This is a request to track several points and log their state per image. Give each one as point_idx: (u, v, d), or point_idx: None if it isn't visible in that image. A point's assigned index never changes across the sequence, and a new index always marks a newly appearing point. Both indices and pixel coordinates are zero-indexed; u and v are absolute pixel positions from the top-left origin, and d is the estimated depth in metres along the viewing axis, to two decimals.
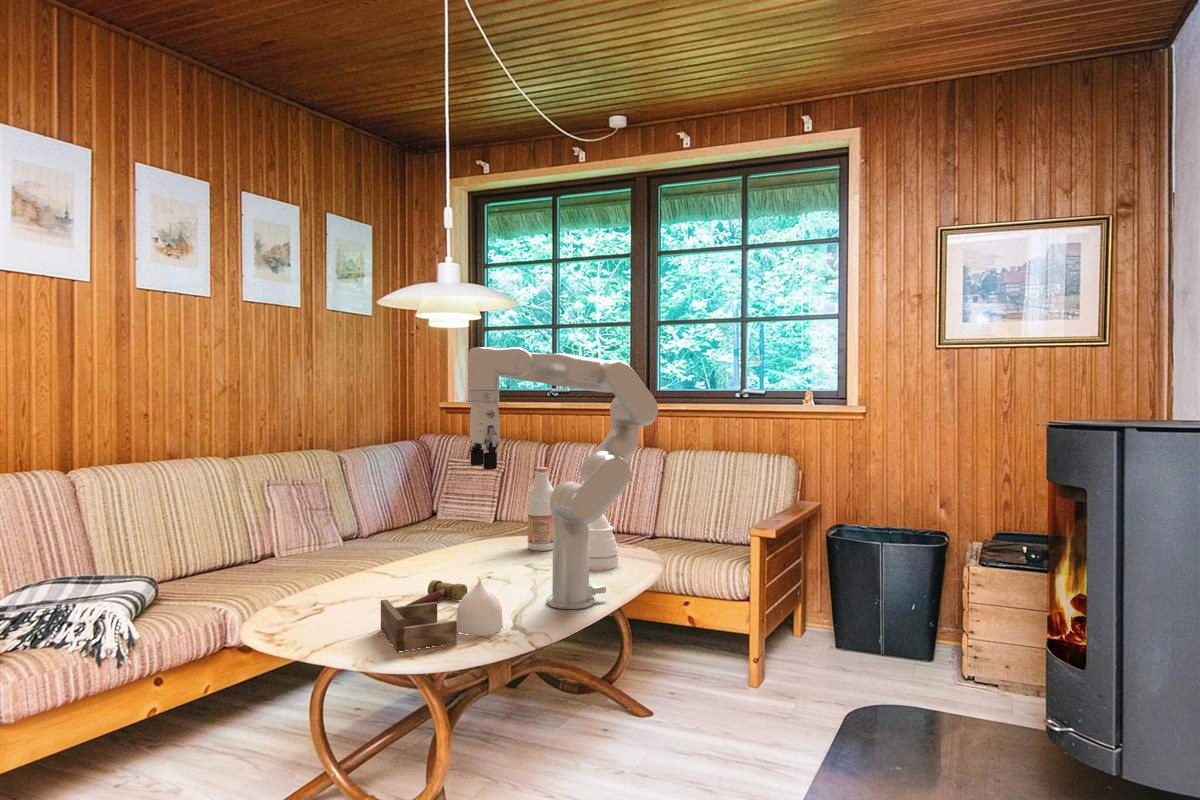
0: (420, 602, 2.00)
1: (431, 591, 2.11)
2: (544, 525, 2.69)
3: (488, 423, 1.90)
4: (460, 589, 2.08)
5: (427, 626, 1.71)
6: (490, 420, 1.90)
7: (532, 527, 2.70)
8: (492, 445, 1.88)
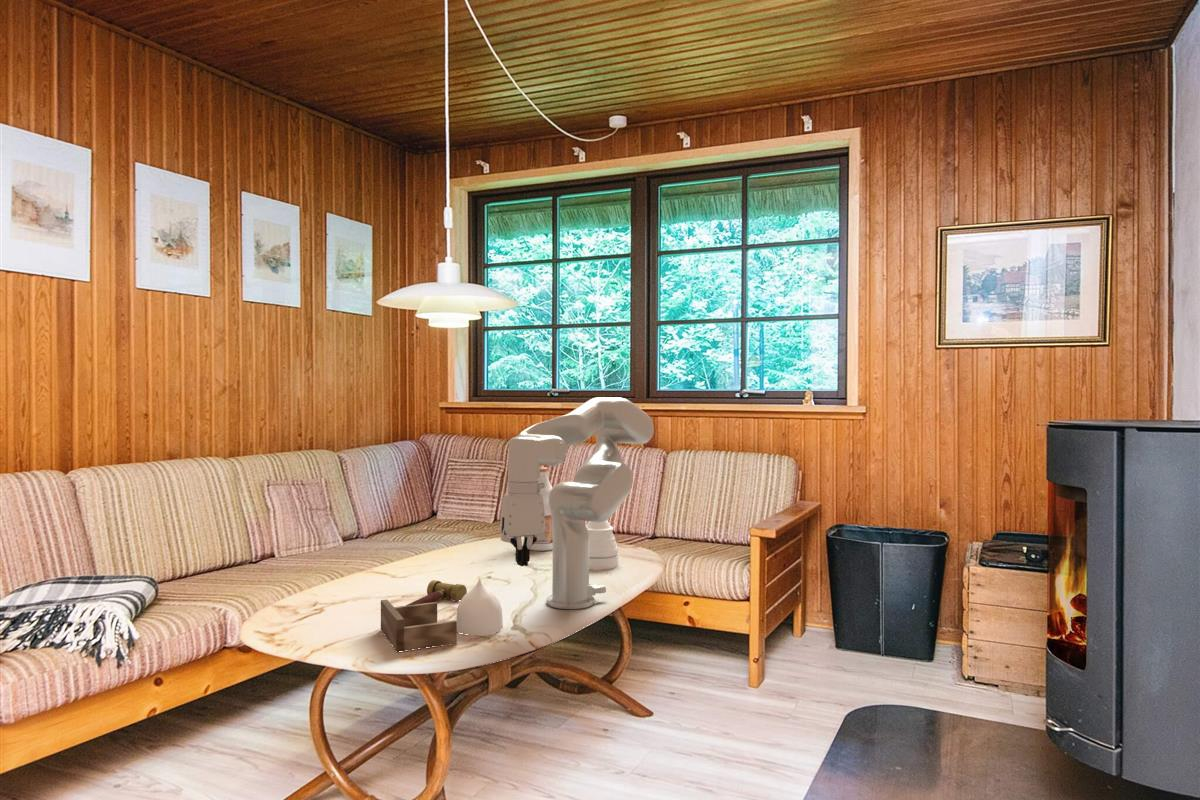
0: (419, 602, 1.99)
1: (430, 591, 2.10)
2: None
3: None
4: (459, 589, 2.08)
5: (427, 626, 1.71)
6: None
7: None
8: None
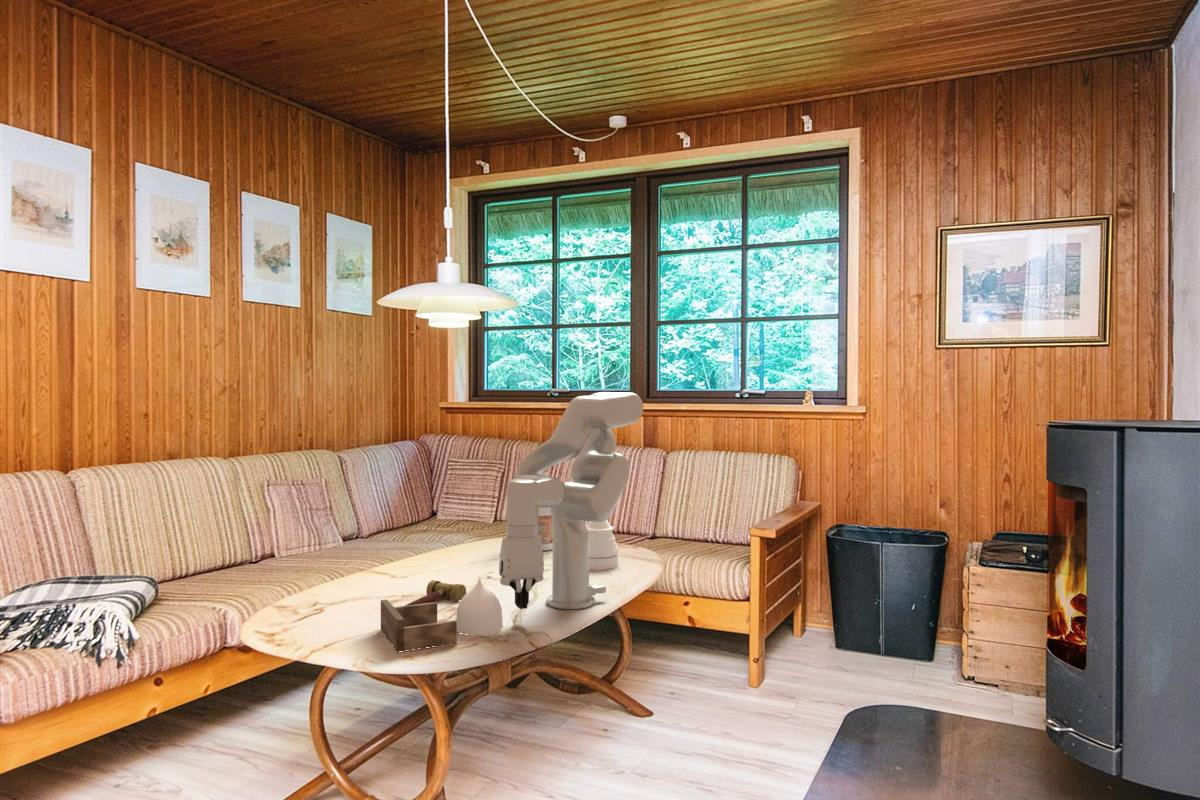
0: (418, 602, 1.99)
1: (430, 591, 2.10)
2: (544, 525, 2.69)
3: None
4: (459, 589, 2.07)
5: (427, 626, 1.71)
6: None
7: None
8: None
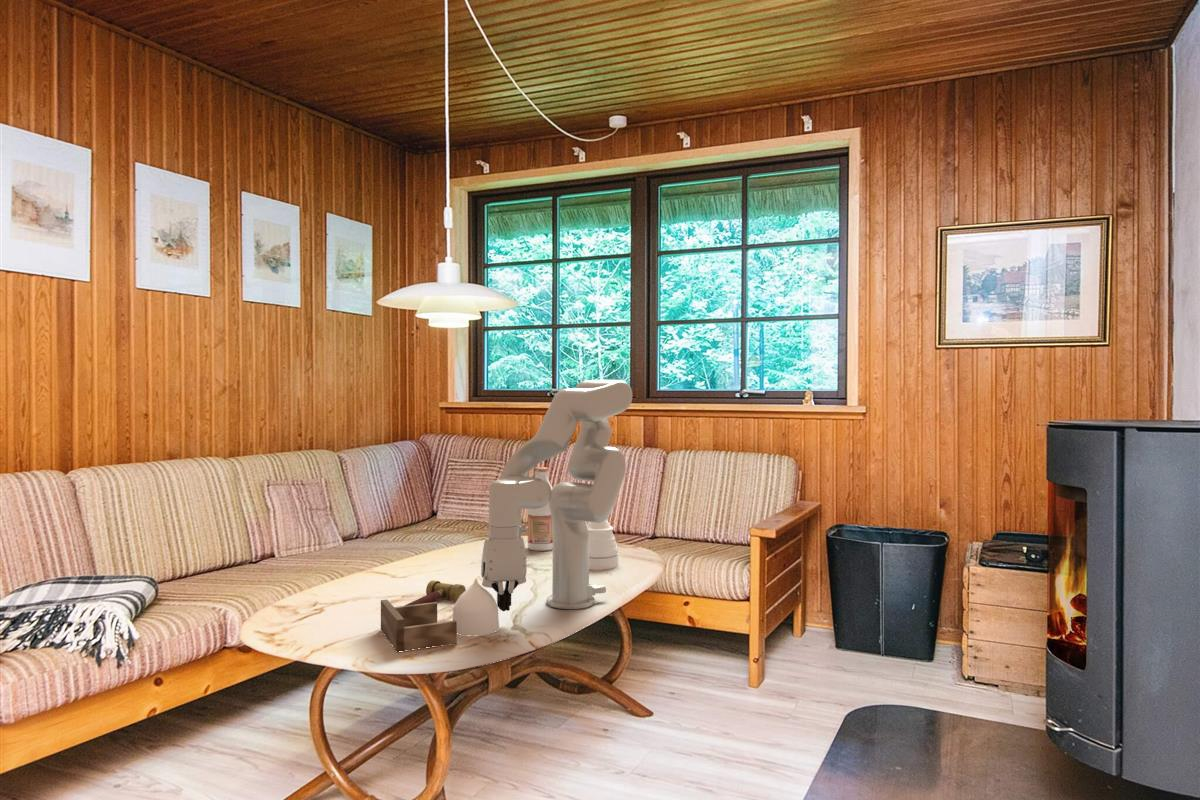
0: (418, 603, 1.99)
1: (429, 591, 2.10)
2: (544, 525, 2.69)
3: None
4: (458, 589, 2.07)
5: (427, 626, 1.71)
6: None
7: (532, 527, 2.70)
8: None
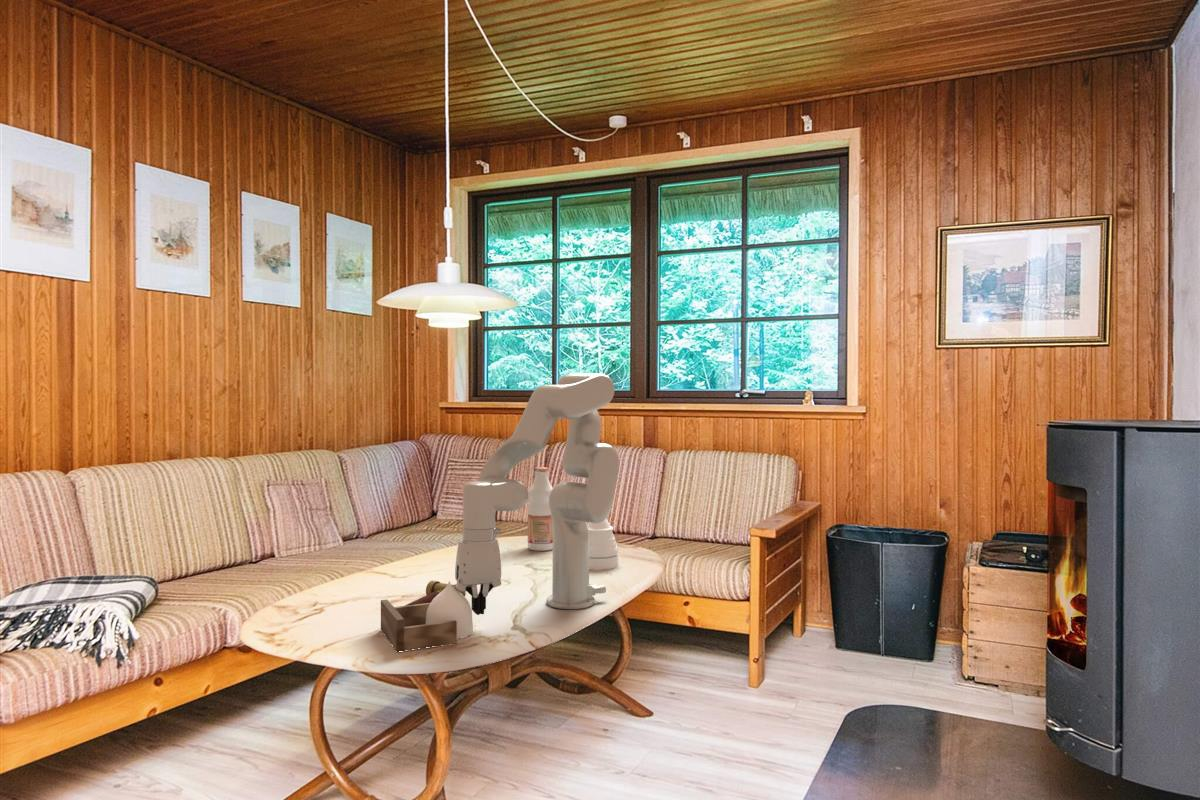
0: (418, 603, 1.99)
1: (429, 592, 2.10)
2: (544, 525, 2.69)
3: None
4: (458, 590, 2.07)
5: (427, 626, 1.71)
6: None
7: (532, 527, 2.70)
8: None
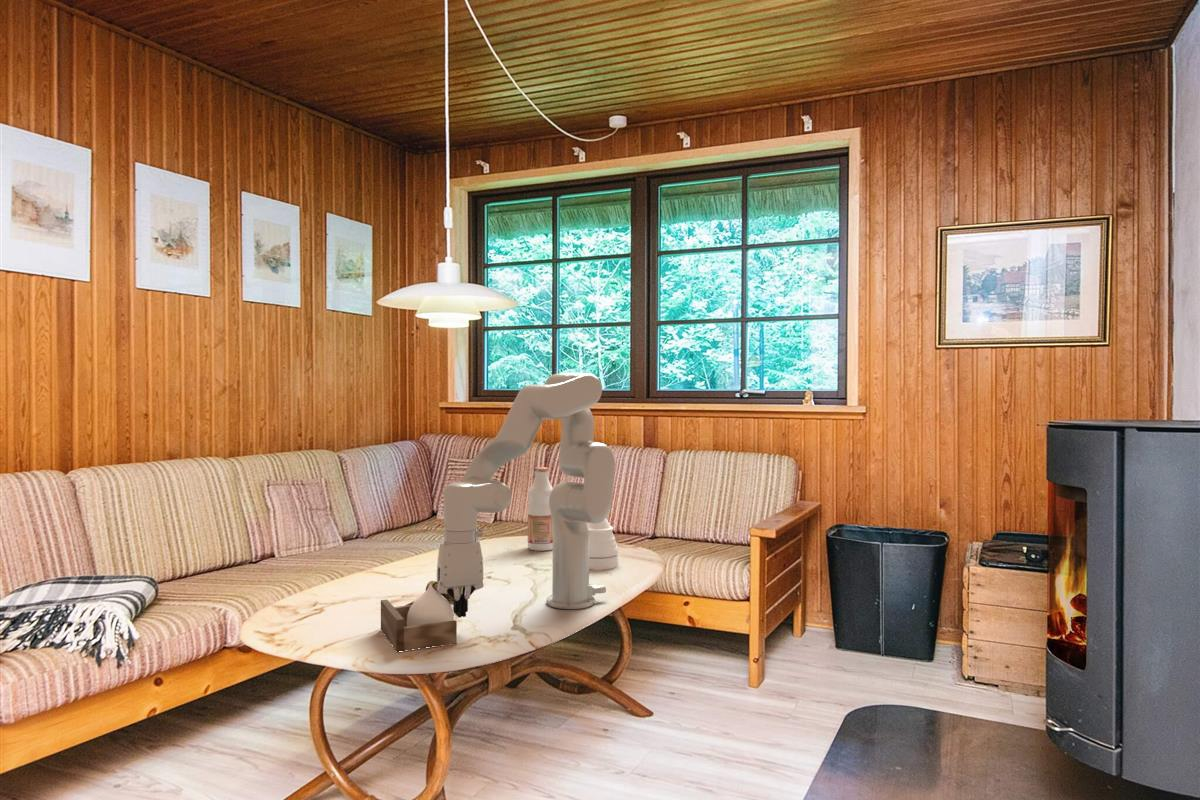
0: None
1: None
2: (544, 525, 2.69)
3: None
4: None
5: (427, 626, 1.71)
6: None
7: (532, 527, 2.70)
8: None
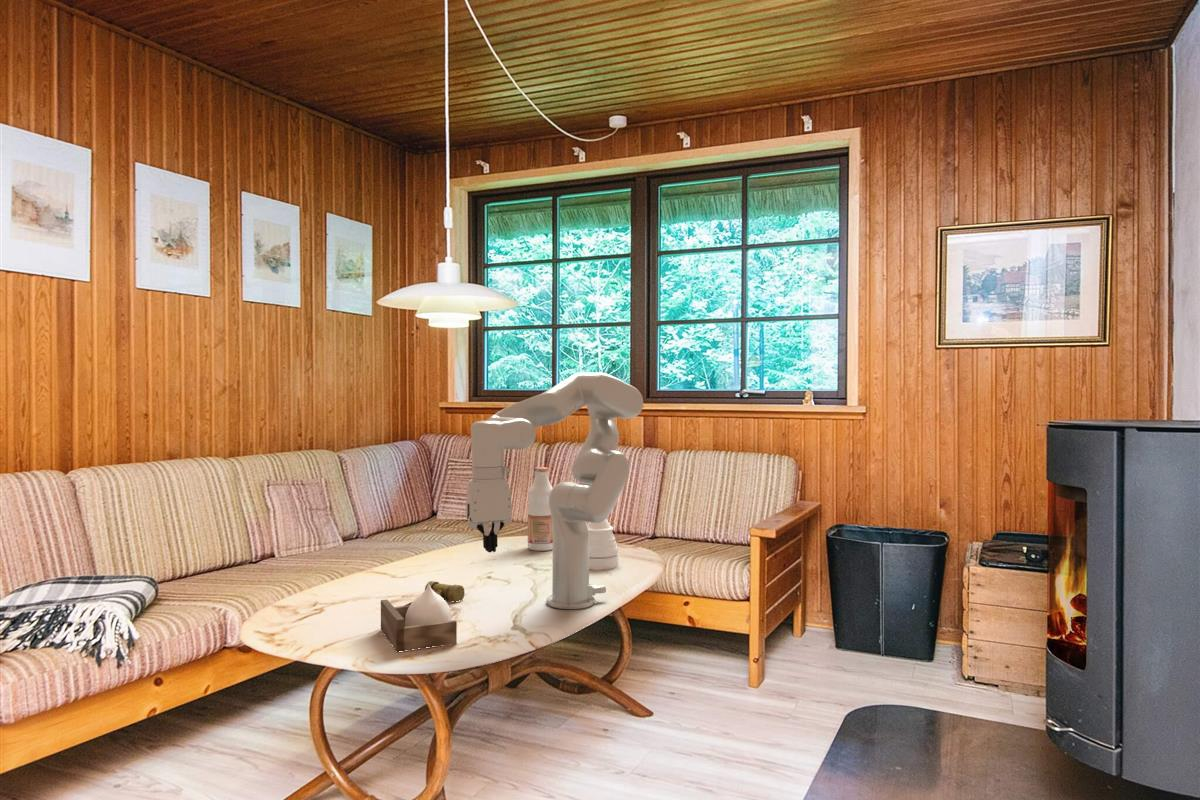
0: None
1: None
2: (544, 525, 2.69)
3: None
4: (457, 590, 2.07)
5: (427, 626, 1.71)
6: None
7: (532, 527, 2.70)
8: None
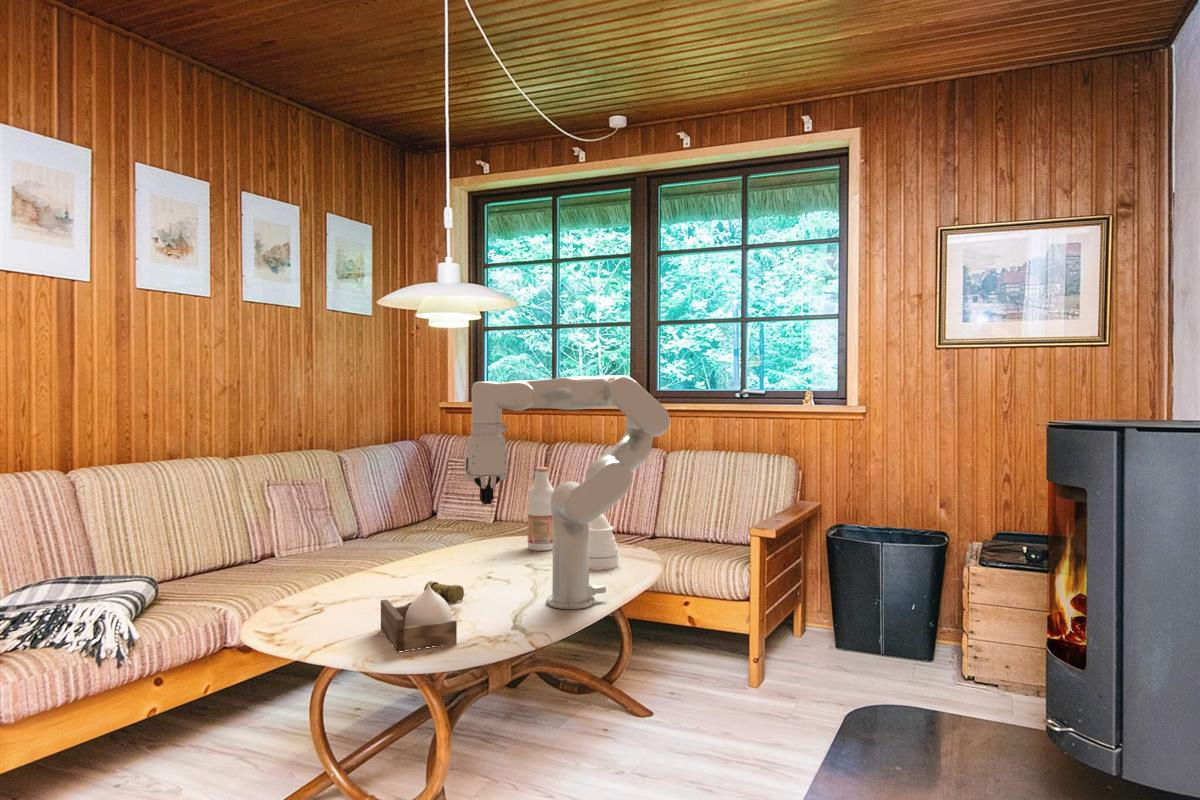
0: None
1: None
2: (544, 525, 2.69)
3: None
4: (456, 590, 2.07)
5: (427, 626, 1.71)
6: None
7: (532, 527, 2.70)
8: None
